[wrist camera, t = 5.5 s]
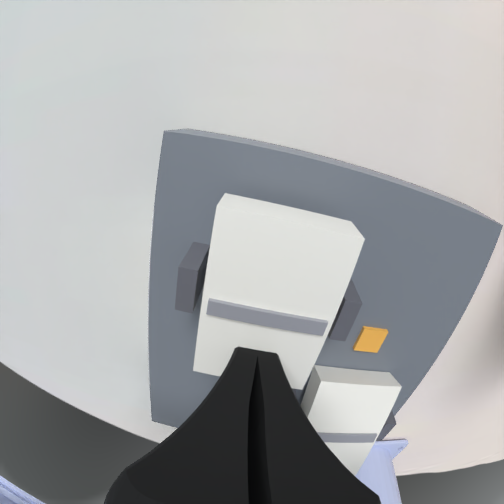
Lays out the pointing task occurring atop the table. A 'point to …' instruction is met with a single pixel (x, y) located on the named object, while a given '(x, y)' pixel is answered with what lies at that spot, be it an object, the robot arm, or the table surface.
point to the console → (363, 277)
